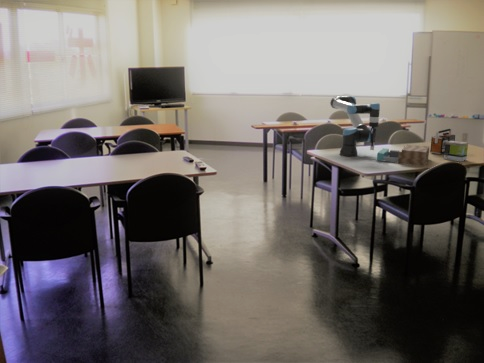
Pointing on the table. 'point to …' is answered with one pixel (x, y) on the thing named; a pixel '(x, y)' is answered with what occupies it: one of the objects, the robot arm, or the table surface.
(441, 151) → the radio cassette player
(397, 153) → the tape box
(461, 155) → the tea box
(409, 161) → the wooden drawer cabinet
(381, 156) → the drawer
